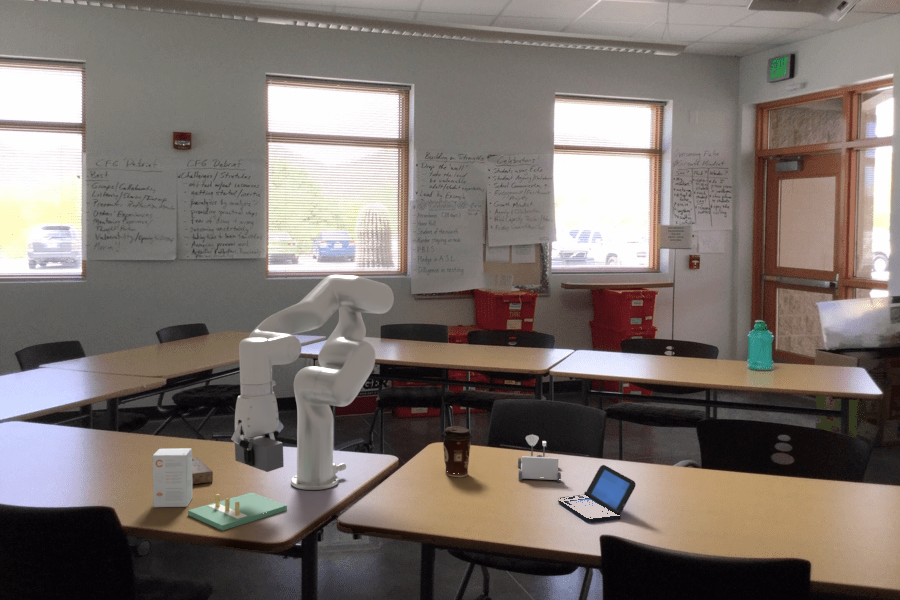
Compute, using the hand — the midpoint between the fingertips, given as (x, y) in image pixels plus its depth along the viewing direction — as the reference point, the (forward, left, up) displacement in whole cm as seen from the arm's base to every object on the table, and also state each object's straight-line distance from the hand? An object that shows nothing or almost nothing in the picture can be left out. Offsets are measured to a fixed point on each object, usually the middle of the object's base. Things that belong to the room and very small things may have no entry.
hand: (259, 461), depth 189 cm
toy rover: (-72, +34, -12) cm, 80 cm away
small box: (+13, -17, -11) cm, 24 cm away
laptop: (-56, +62, -12) cm, 84 cm away
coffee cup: (-54, +18, -11) cm, 58 cm away
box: (0, -33, -12) cm, 35 cm away
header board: (+6, 0, -11) cm, 13 cm away
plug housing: (0, 0, -1) cm, 1 cm away
